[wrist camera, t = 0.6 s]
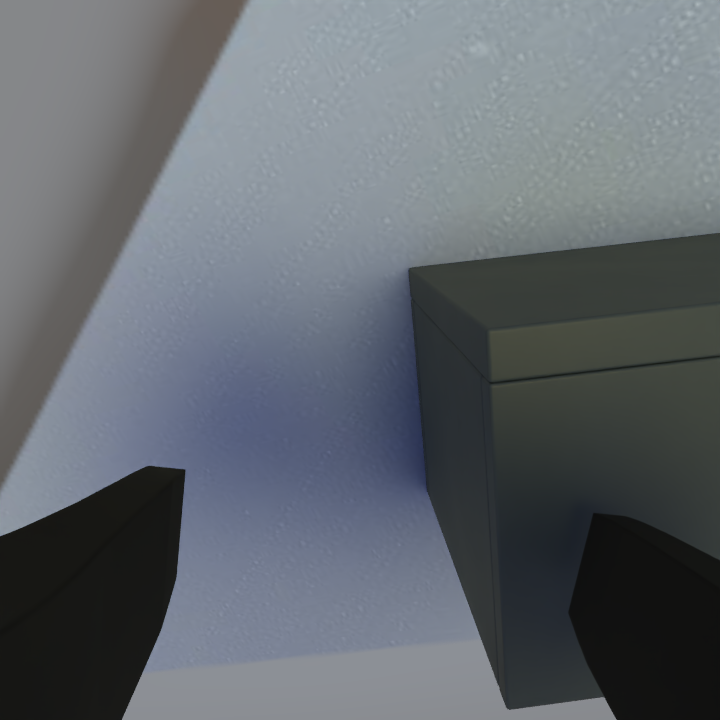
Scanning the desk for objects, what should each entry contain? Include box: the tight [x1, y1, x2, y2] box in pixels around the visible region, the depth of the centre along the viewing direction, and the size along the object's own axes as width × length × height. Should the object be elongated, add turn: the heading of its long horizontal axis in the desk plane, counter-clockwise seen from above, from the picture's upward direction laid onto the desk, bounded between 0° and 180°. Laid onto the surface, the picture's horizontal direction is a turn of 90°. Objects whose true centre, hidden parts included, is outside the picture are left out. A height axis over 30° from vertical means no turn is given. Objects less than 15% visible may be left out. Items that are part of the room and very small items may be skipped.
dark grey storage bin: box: [409, 233, 720, 710], centre depth 17 cm, size 8×12×10 cm, turn 96°
